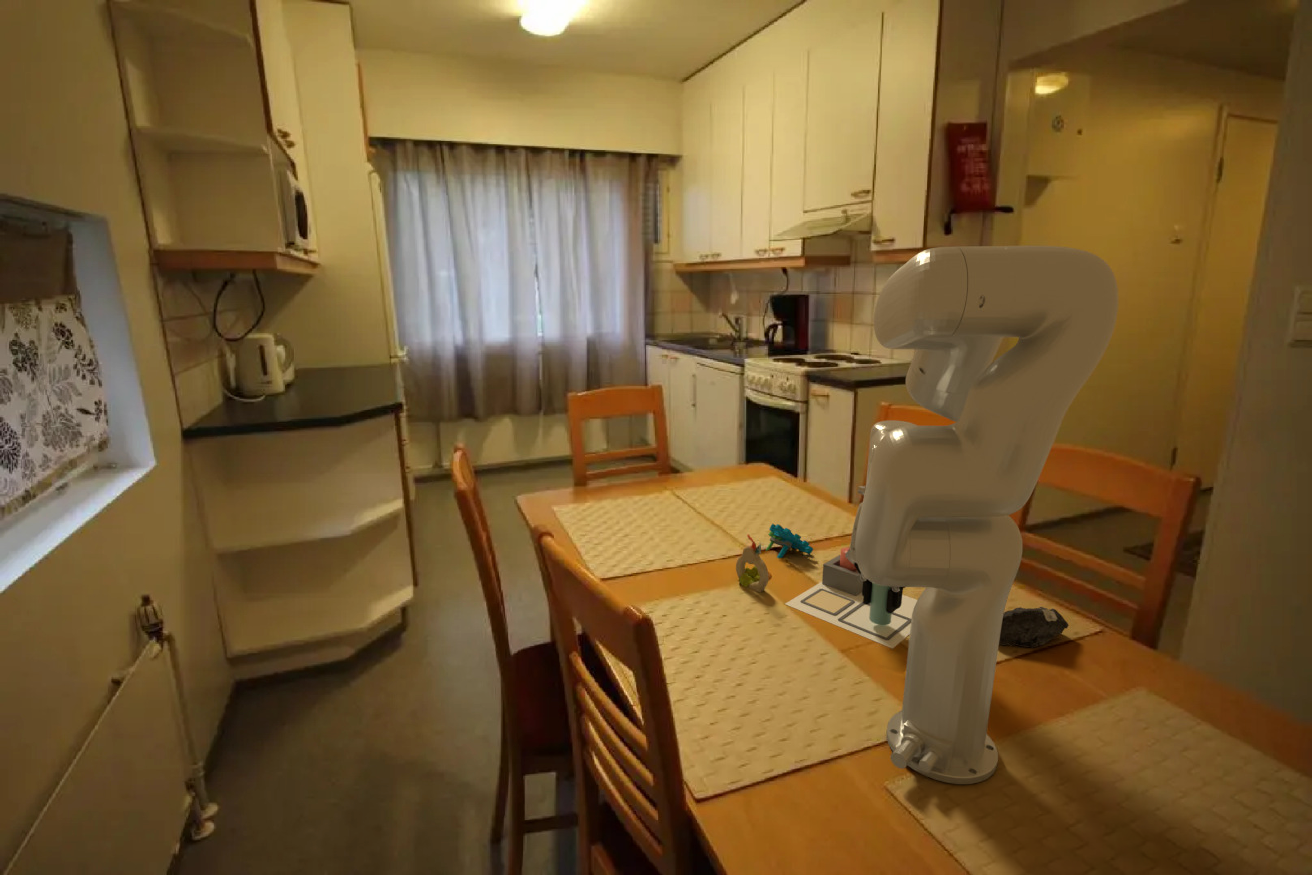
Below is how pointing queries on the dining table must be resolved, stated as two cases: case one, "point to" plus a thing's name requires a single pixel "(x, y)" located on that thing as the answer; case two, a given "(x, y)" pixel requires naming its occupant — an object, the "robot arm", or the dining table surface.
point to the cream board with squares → (855, 613)
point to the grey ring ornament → (758, 573)
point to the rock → (1031, 626)
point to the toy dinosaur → (787, 540)
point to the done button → (846, 560)
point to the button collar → (841, 577)
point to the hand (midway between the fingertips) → (880, 604)
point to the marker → (879, 605)
